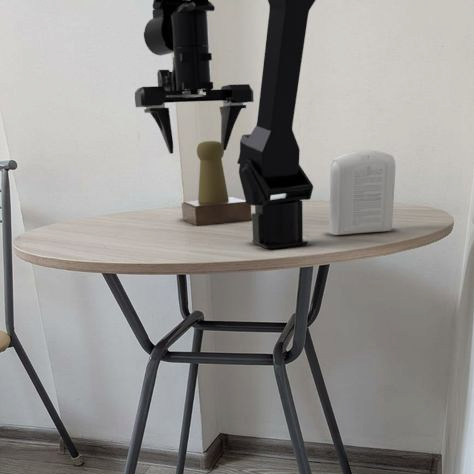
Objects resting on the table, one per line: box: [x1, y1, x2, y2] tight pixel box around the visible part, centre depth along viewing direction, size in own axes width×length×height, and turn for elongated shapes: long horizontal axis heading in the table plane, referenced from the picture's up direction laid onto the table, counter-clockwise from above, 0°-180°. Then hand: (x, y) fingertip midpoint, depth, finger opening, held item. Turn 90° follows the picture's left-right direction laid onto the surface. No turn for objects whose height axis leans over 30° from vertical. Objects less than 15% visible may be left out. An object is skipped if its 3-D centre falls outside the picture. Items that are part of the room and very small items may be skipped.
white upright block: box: [329, 150, 396, 236], centre depth 91 cm, size 10×4×12 cm, turn 104°
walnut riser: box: [181, 196, 252, 226], centre depth 114 cm, size 11×10×4 cm
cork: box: [196, 140, 229, 203], centre depth 112 cm, size 6×6×11 cm
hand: (197, 151), depth 98 cm, fingers open, 9 cm apart
